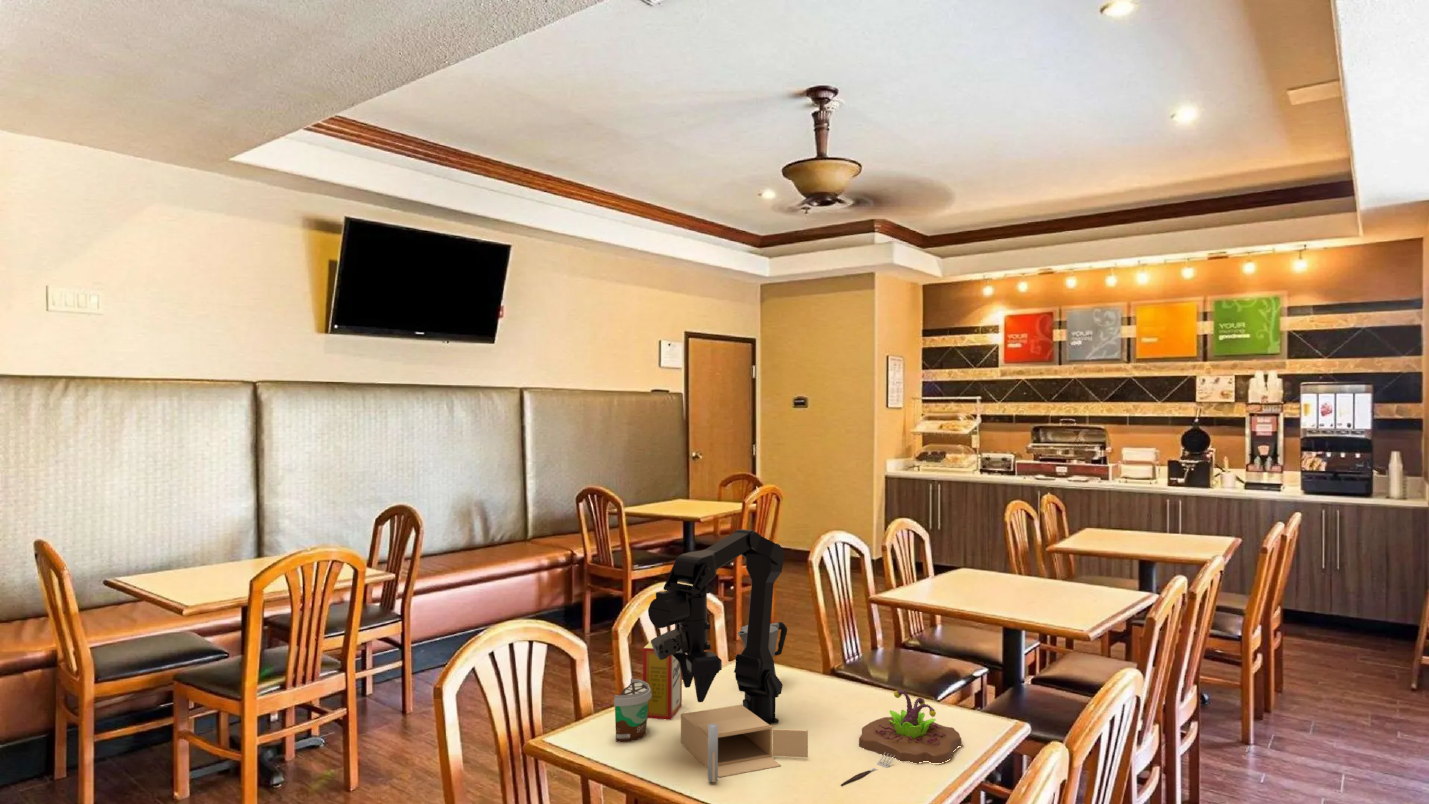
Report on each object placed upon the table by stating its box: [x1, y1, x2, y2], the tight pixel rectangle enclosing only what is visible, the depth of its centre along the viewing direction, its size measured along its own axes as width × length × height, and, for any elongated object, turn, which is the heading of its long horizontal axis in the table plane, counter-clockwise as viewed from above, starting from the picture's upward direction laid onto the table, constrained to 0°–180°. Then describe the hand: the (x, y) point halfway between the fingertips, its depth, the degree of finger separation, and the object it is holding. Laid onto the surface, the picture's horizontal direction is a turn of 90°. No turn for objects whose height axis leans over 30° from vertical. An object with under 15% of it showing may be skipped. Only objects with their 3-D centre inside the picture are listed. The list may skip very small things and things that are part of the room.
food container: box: [613, 678, 652, 743], centre depth 180 cm, size 12×6×10 cm, turn 168°
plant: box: [858, 689, 962, 764], centre depth 176 cm, size 20×20×11 cm
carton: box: [680, 704, 809, 779], centre depth 171 cm, size 20×19×6 cm
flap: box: [707, 724, 719, 783], centre depth 159 cm, size 7×2×10 cm, turn 8°
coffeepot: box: [737, 621, 788, 676], centre depth 211 cm, size 15×9×18 cm, turn 125°
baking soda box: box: [642, 636, 683, 721], centre depth 194 cm, size 10×6×16 cm
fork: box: [840, 752, 895, 787], centre depth 161 cm, size 3×16×2 cm, turn 134°
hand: (693, 694), depth 171 cm, fingers open, 9 cm apart
